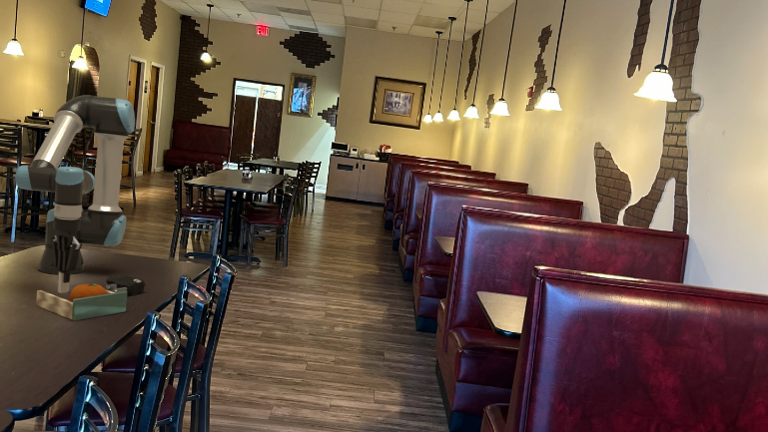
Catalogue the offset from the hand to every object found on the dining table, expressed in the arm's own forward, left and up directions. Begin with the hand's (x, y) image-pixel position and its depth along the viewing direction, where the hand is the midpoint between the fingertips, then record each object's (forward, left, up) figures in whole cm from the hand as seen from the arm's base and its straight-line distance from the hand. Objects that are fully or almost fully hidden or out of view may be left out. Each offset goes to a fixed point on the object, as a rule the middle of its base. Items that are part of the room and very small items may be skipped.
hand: (63, 291), depth 202 cm
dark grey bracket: (+11, +11, -3) cm, 16 cm away
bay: (+10, 0, -3) cm, 11 cm away
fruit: (+14, 0, -3) cm, 14 cm away
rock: (+2, +21, -3) cm, 21 cm away
